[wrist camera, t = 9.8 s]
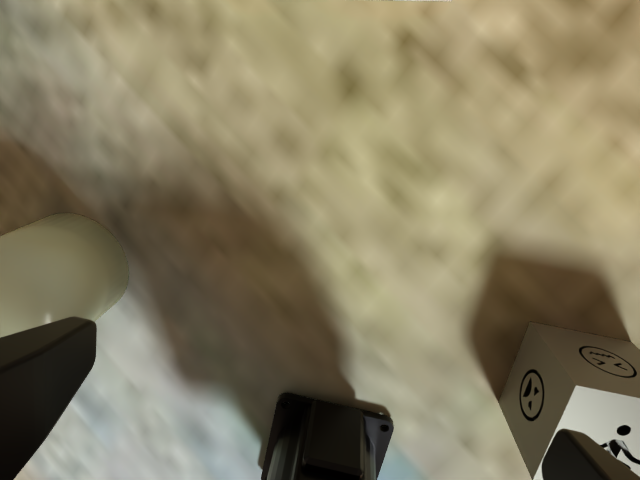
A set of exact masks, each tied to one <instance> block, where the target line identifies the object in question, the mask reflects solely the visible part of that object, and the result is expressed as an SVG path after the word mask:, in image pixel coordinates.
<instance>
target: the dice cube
mask: <svg viewBox="0 0 640 480" xmlns="http://www.w3.org/2000/svg"><path fill="white" fill-rule="evenodd" d="M498 403H499V405H500V407H501V409H502V412H503V414H504V416H505V419H506V421H507V423H508V425H509V428H510V430H511V432H512V435H513V437H514V439H515V441H516V444H517V446H518V448H519V451H520V453H521V455H522V457H523V460H524V462H525V464H526V467H527V469H528V471H529V473H530V476H531V478H532V480H543V477H542V469H541V467H542V461H543V458H544V456H545V454H546V452H547V450H548V448H549V446H550V444H551V442H552V440H553V438H554V436H555V434H556V433H557V431H559V430H560V429H563V428H564V429H569V430H574V431H578V432H582V433H584V434H586V435H588V436H589V437H590V438H591V439H593V440H594V441H595V442H596V443H598V444H599V445H600V446H601V447H603V448H604V449H605V450H606V451H608V452H609V453H610V454H612V455H613V456H614V457H615V458H617V459H618V460H619V461H620V462H622V463H623V464H624V465H625V466H627V467H628V468H629V469H630V470H632V471H633V472H634V473H635V474H637V475H638V476H639V477H640V350H639V349H638V348H637V347H636V346H635V345H634V344H633V343H632V342H630V341H625V340H620V339H615V338H610V337H605V336H600V335H595V334H590V333H585V332H580V331H575V330H570V329H565V328H560V327H555V326H550V325H545V324H540V323H535V322H530V323H529V325H528V328H527V330H526V333H525V336H524V338H523V341H522V343H521V346H520V348H519V351H518V353H517V356H516V359H515V361H514V364H513V366H512V369H511V371H510V374H509V376H508V379H507V382H506V384H505V387H504V389H503V392H502V394H501V397H500V399H499V402H498Z"/></svg>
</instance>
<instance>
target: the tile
mask: <svg viewBox="0 0 640 480" xmlns="http://www.w3.org/2000/svg"><path fill="white" fill-rule="evenodd" d="M395 1H452V0H395Z"/></svg>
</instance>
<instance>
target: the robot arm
mask: <svg viewBox="0 0 640 480" xmlns="http://www.w3.org/2000/svg"><path fill="white" fill-rule="evenodd" d="M96 332H97V328H96V324H95V322H94V321H93V320H89V319H85V318H81V317H76V316H72V317H68V318H65V319H61V320H58V321H55V322H51V323H48V324H44V325H41V326H38V327H34V328H31V329H28V330H24V331H21V332H17V333H14V334H11V335H7V336H4V337H0V480H13V479H14V478H15V477H16V476H17V474H18V473H19V472H20V471H21V469H22V468H23V467H24V466H25V464H26V463H27V462H28V461H29V459H30V458H31V457H32V456H33V454H34V453H35V452H36V451H37V449H38V448H39V447H40V445H41V444H42V443H43V442H44V440H45V439H46V438H47V436H48V435H49V433H50V432H51V430H52V429H53V427H54V426H55V424H56V423H57V421H58V420H59V418H60V417H61V415H62V414H63V412H64V411H65V409H66V407H67V406H68V404H69V403H70V401H71V400H72V398H73V397H74V395H75V394H76V392H77V391H78V389H79V388H80V386H81V384H82V383H83V381H84V380H85V378H86V377H87V375H88V374H89V372H90V371H91V369H92V367H93V365H94V362H95V358H96ZM284 401H285V402H289V404H285V403H283V402H284ZM383 424H386V425H387V426H381V425H383ZM393 429H394V426H393V421H392V419H391V418H390V417H388V416H385V415H381V414H377V413H372V412H368V411H364V410H359V409H355V408H351V407H346V406H342V405H338V404H333V403H329V402H325V401H320V400H316V399H312V398H307V397H303V396H299V395H294V394H290V393H283V394H281V395H280V396H279V397H278V400H277V404H276V409H275V414H274V419H273V423H272V428H271V433H270V438H269V442H268V447H267V452H266V457H265V461H264V466H263V471H262V476H261V480H377V478H378V475H379V472H380V469H381V466H382V463H383V460H384V457H385V454H386V451H387V448H388V445H389V442H390V439H391V436H392V433H393ZM541 469H542V477H543V480H640V477H639V476H638V475H637V474H635V473H634V472H633V471H632V470H630V469H629V468H628V467H627V466H625V465H624V464H623V463H622V462H620V461H619V460H618V459H617V458H615V457H614V456H613V455H612V454H610V453H609V452H608V451H606V450H605V449H604V448H603V447H601V446H600V445H599V444H598V443H596V442H595V441H594V440H593V439H591V438H590V437H589V436H588V435H586V434H584V433H582V432H578V431H574V430H569V429H564V428H563V429H560V430H559V431H557V433H556V434H555V436H554V438H553V440H552V442H551V444H550V446H549V448H548V450H547V452H546V454H545V456H544V458H543V461H542V467H541Z"/></svg>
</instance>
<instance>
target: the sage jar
mask: <svg viewBox="0 0 640 480" xmlns="http://www.w3.org/2000/svg"><path fill="white" fill-rule="evenodd" d="M128 278H129V269H128V263H127V259H126V256H125V254H124V252H123V250H122V248H121V246H120V244H119V243H118V241H117V240H116V239H115V237H114V236H113V235H112V234H111V233H110V232H109V231H108V230H107V229H105V228H104V227H103V226H102V225H100V224H99V223H97V222H95V221H94V220H92V219H89V218H87V217H85V216H81V215H78V214H72V213H59V214H54V215H50V216H48V217H45V218H43V219H40V220H38V221H36V222H33V223H31V224H28V225H26V226H23V227H21V228H19V229H16V230H14V231H11V232H9V233H6V234H4V235H2V236H0V337H4V336H7V335H11V334H14V333H17V332H21V331H24V330H28V329H31V328H34V327H38V326H41V325H44V324H48V323H51V322H55V321H58V320H61V319H65V318H68V317H72V316H76V317H81V318H85V319H89V320H93V321H94V322H95V321H96V320H97V319H98V318H99V317H101V316H102V315H103V314H104V313H105V312H106V311H107V310H109V309H110V308H111V307H112V306H113V305H114V304H115V303H117V302H118V300H119V299H120V298H121V297H122V295H123V294H124V292H125V290H126V288H127V284H128Z"/></svg>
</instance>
